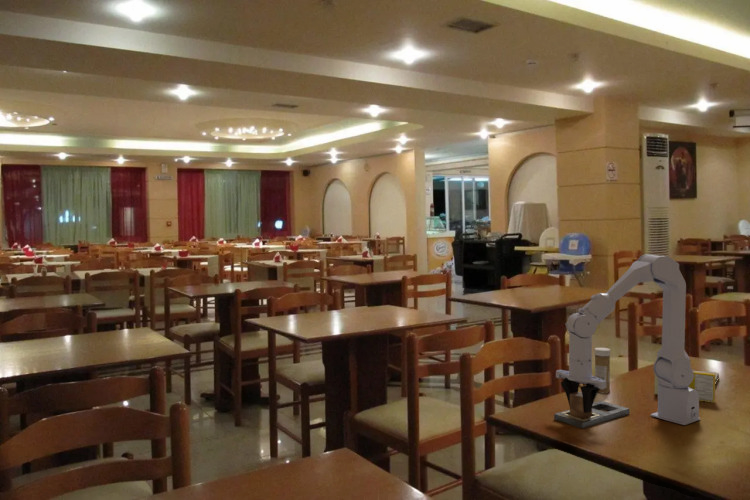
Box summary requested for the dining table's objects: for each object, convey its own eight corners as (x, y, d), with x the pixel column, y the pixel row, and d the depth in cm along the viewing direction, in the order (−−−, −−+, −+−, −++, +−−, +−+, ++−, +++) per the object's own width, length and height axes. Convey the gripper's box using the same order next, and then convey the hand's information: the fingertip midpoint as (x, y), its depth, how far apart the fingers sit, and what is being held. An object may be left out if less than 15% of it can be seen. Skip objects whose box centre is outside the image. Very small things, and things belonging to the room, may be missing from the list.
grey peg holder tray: (629, 413, 166) (629, 407, 166) (582, 428, 155) (582, 422, 155) (600, 405, 173) (600, 400, 173) (554, 419, 162) (554, 413, 162)
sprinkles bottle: (613, 392, 187) (613, 348, 186) (603, 394, 184) (604, 350, 184) (600, 388, 191) (600, 346, 190) (591, 391, 188) (591, 348, 187)
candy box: (715, 402, 176) (716, 373, 176) (714, 403, 174) (714, 375, 174) (655, 392, 186) (656, 366, 186) (653, 394, 184) (654, 367, 184)
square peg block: (591, 420, 161) (592, 394, 161) (582, 423, 159) (582, 397, 158) (579, 416, 164) (579, 391, 164) (569, 419, 162) (569, 393, 162)
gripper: (548, 356, 164) (548, 405, 165) (594, 366, 152) (594, 419, 153) (565, 352, 168) (565, 401, 169) (611, 362, 156) (611, 414, 157)
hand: (580, 409), depth 161 cm, fingers closed on square peg block, 4 cm apart
